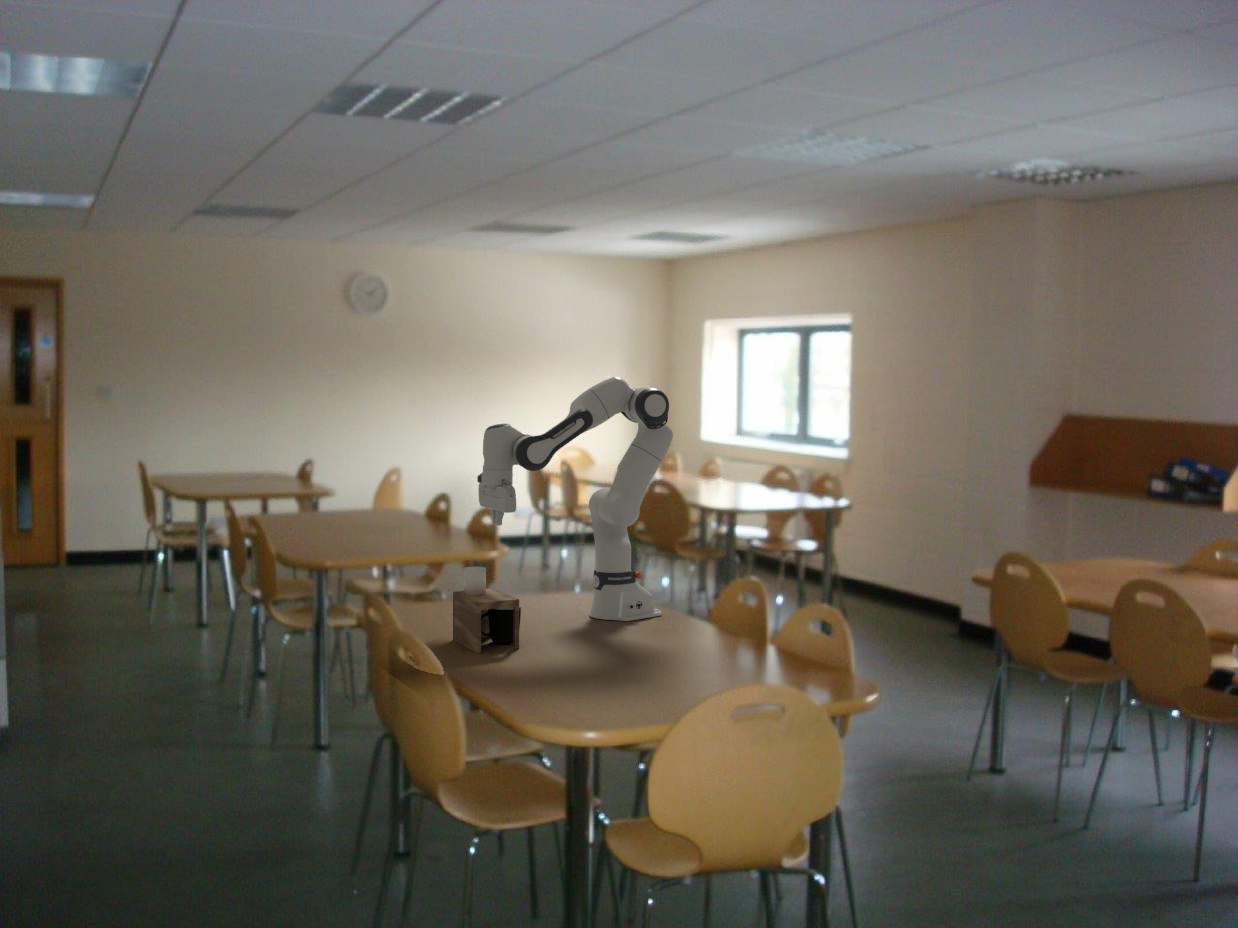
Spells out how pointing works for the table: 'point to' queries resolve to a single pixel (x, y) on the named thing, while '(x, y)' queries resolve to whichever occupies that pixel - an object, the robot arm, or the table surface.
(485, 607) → the open wooden crate
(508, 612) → the mug
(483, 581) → the white cylinder
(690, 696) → the table surface
